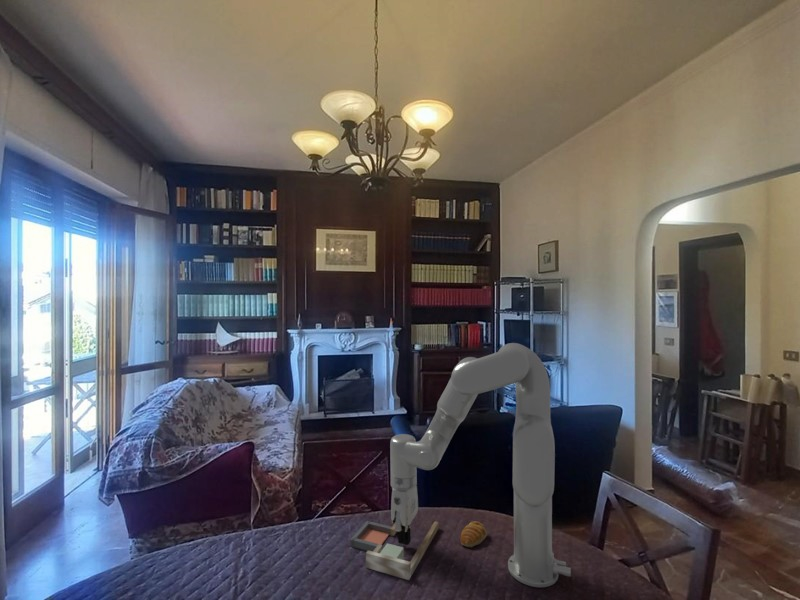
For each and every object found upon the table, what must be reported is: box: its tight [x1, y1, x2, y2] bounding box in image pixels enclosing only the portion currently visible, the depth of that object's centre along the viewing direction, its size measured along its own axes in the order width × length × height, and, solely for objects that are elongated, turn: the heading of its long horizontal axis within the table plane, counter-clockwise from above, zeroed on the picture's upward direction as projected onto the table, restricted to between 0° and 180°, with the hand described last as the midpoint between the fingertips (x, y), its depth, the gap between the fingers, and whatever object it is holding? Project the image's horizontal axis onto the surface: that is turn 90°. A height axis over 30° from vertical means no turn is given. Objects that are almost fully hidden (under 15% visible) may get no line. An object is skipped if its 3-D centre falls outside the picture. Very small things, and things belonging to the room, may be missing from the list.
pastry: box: [459, 521, 488, 548], centre depth 121 cm, size 9×7×4 cm
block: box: [380, 542, 405, 560], centre depth 110 cm, size 5×5×4 cm
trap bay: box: [349, 520, 392, 552], centre depth 121 cm, size 9×10×2 cm
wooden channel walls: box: [365, 521, 440, 581], centre depth 118 cm, size 12×25×4 cm, turn 157°
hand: (404, 542), depth 117 cm, fingers closed
